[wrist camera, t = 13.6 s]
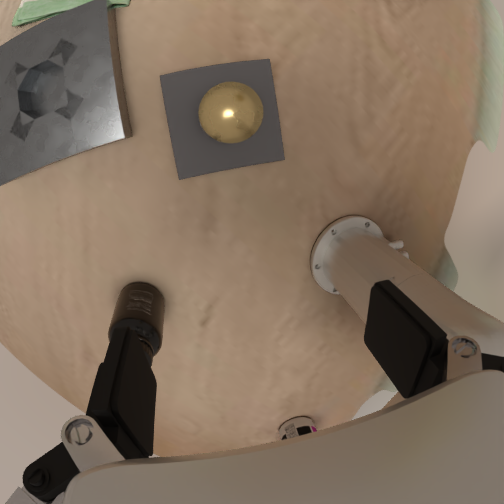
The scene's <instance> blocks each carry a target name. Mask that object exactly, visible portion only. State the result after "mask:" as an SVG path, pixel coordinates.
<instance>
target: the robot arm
mask: <svg viewBox="0 0 504 504" xmlns="http://www.w3.org/2000/svg"><path fill="white" fill-rule="evenodd" d="M400 248H403V241H402V240H401V239H399V240H395V241H393V242H390V241H388V240H387V239H385V238H384V236H383V233H382V231H381V229H380V228H379V227H378V226H377V224H376V223H374V222H373V221H371V220H369V219H368V218H366V217H362V216H347V217H343V218H341V219H338V220H336V221H335V222H333V223H332V224H330V225H329V226H328V227H327V228H326V229H325V230H324V231H323V232H322V233H321V235H320V236H319V237H318V239H317V241H316V243H315V244H314V247H313V250H312V254H311V259H310V263H311V271H312V275H313V277H314V279H315V281H316V282H317V283H318V285H319V286H320V287H321V288H322V289H324V290H325V291H327V292H329V293H332V294H339V295H342V297H343V298H344V299H345V300H346V301H347V303H348V304H349V305H350V306H351V307H352V309H353V310H354V311H355V312H356V314H357V315H358V316H359V317H360V318H361V320H362V321H363V322H364V323H365V325H366V328H365V334H364V341H365V344H366V346H367V347H368V349H369V350H370V351H371V353H372V354H373V356H374V357H375V358H376V360H377V361H378V363H379V364H380V365H381V367H382V368H383V370H384V371H385V373H386V374H387V375H388V377H389V378H390V380H391V381H392V383H393V384H394V385H395V387H396V388H397V390H398V392H397V394H396V395H395V396H394V397H393V398H392V399H391V400H390V401H389V402H388V403H387V404H386V405H385V406H384V408H382V410H379V411H376V412H374V413H372V414H369V415H366V416H363V417H360V418H357V419H354V420H351V421H348V422H345V423H342V424H339V425H336V426H333V427H330V428H326V429H323V430H319V431H316V432H312V433H309V434H305V435H301V436H297V437H293V438H289V439H285V440H280V441H276V442H271V443H266V444H261V445H256V446H251V447H245V448H239V449H233V450H226V451H219V452H211V453H202V454H193V455H183V456H171V457H154V458H149V456H152V455H153V439H154V418H155V402H156V389H157V383H156V378H155V376H154V374H153V371H152V369H151V367H150V365H149V362H148V360H147V358H146V355H145V353H144V350H143V348H142V345H141V343H140V340H139V338H138V335H137V333H136V331H135V330H131V328H130V327H129V326H126V327H118V328H115V329H114V331H113V334H112V337H111V340H110V343H109V346H108V350H107V353H106V356H105V359H104V362H102V363H101V364H100V366H99V368H98V372H97V375H96V378H95V382H94V385H93V389H92V393H91V396H90V400H89V404H88V408H87V412H86V415H79V416H75V417H73V418H71V419H69V420H68V421H67V422H66V423H65V424H64V426H63V428H62V431H61V438H62V441H63V442H61V443H60V444H59V445H57V446H56V447H54V448H53V449H52V450H50V451H49V452H47V453H46V454H45V455H43V456H42V457H40V458H39V459H37V460H36V461H34V462H33V463H31V464H30V465H29V466H28V467H27V468H26V469H25V471H24V474H23V484H24V486H23V487H22V489H21V488H20V487H18V488H17V489H16V491H15V492H14V493H13V494H12V496H11V497H10V498H9V499H8V501H7V502H6V503H5V504H504V323H503V322H501V321H500V320H498V319H497V318H495V317H493V316H491V315H490V314H488V313H486V312H484V311H482V310H481V309H479V308H477V307H475V306H474V305H472V304H470V303H469V302H467V301H466V300H464V299H462V298H461V297H460V296H458V295H457V294H456V293H454V292H453V291H451V290H450V289H449V288H447V287H446V286H444V285H443V284H442V283H440V282H439V281H438V280H436V279H435V278H434V277H432V276H431V275H430V274H428V273H427V272H426V271H424V270H423V269H422V268H420V267H419V266H418V265H416V264H415V263H414V262H412V261H411V260H409V255H408V253H407V252H406V251H401V252H398V251H397V249H400Z"/></svg>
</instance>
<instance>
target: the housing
mask: <svg viewBox="0 0 504 504" xmlns="http://www.w3.org/2000/svg"><path fill="white" fill-rule="evenodd" d="M129 137H133V136H132V130H131V125H130V120H129V114H128V109H127V103H126V97H125V91H124V84H123V78H122V71H121V63H120V56H119V47H118V38H117V28H116V17H115V8H114V7H113V5H112V4H111V2H110V1H109V0H93V1H90V2H87V3H85V4H82V5H80V6H77V7H75V8H72V9H70V10H68V11H65V12H63V13H61V14H59V15H56V16H54V17H52V18H50V19H48V20H46V21H44V22H42V23H40V24H38V25H36V26H34V27H32V28H30V29H29V30H27V31H25V32H23V33H21V34H20V35H18V36H16V37H14V38H13V39H11V40H9V41H8V42H6V43H5V44H3V45H1V46H0V186H1V185H4V184H6V183H8V182H11V181H13V180H16V179H18V178H20V177H22V176H24V175H27V174H29V173H31V172H33V171H36V170H38V169H41V168H43V167H45V166H48V165H50V164H53V163H55V162H58V161H60V160H63V159H66V158H68V157H71V156H74V155H77V154H79V153H82V152H85V151H88V150H91V149H94V148H97V147H100V146H103V145H106V144H109V143H113V142H116V141H119V140H123V139H126V138H129Z"/></svg>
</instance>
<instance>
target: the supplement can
mask: <svg viewBox="0 0 504 504" xmlns="http://www.w3.org/2000/svg"><path fill="white" fill-rule="evenodd" d="M316 431H317V430H316V428H315V426H314V423H313V421H312V420H311V419H309V418H306V417H298V418H294V419H291V420H289V421H287V422H285V423H284V424H283V425H282V426H281V428H280V430H279V435H280V438H281V440H285V439H289V438H293V437H297V436H301V435H305V434H309V433H312V432H316Z"/></svg>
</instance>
